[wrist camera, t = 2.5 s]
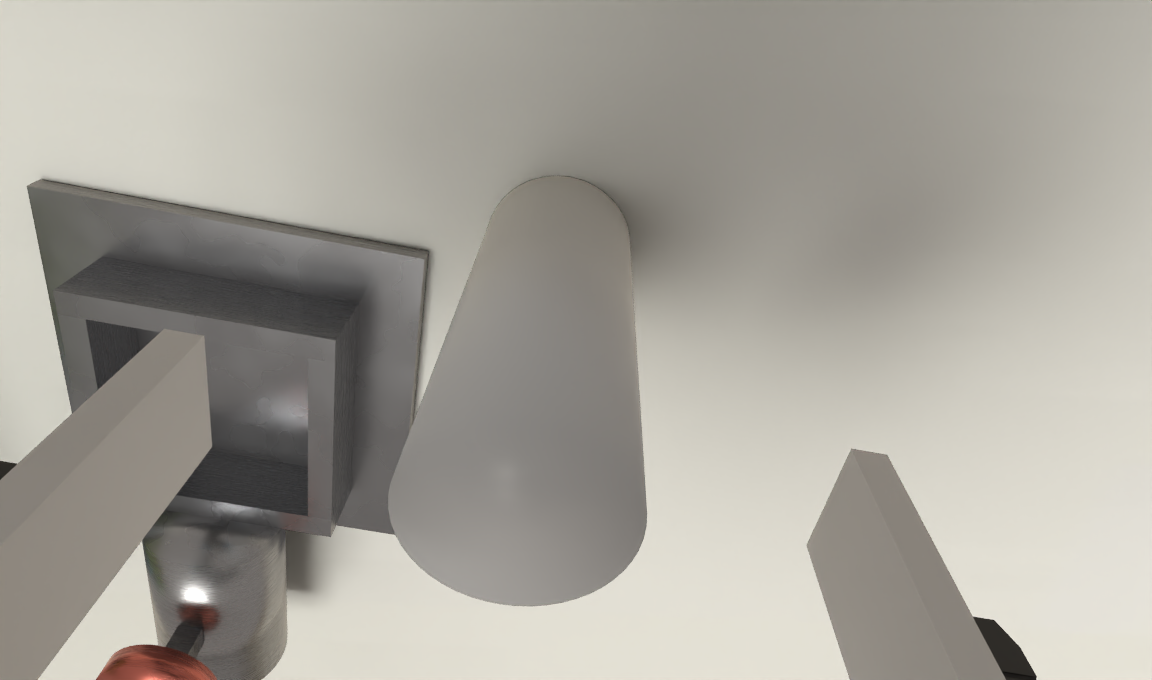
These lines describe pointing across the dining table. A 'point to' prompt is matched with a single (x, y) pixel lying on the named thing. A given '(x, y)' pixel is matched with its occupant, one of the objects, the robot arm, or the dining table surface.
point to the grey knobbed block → (240, 398)
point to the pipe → (532, 411)
